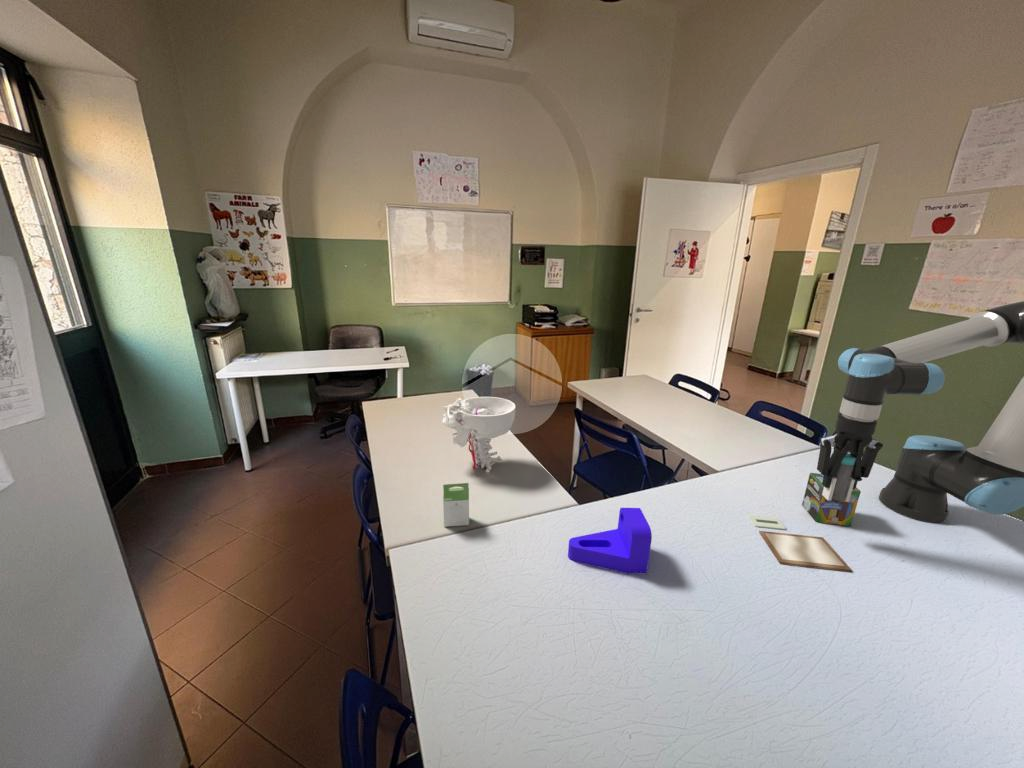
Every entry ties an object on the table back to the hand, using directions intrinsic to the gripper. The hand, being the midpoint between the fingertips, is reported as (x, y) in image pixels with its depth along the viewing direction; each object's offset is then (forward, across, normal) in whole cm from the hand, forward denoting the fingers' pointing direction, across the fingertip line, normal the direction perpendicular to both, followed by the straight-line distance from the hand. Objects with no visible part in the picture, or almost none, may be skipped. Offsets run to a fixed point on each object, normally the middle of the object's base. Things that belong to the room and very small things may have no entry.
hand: (835, 498), depth 107 cm
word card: (+11, +14, -3) cm, 18 cm away
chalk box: (+12, -5, -10) cm, 16 cm away
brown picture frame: (+11, +10, +8) cm, 17 cm away
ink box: (+9, +101, +12) cm, 102 cm away
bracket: (+10, +61, +19) cm, 65 cm away
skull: (+10, +102, -20) cm, 104 cm away
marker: (+1, 0, 0) cm, 1 cm away
